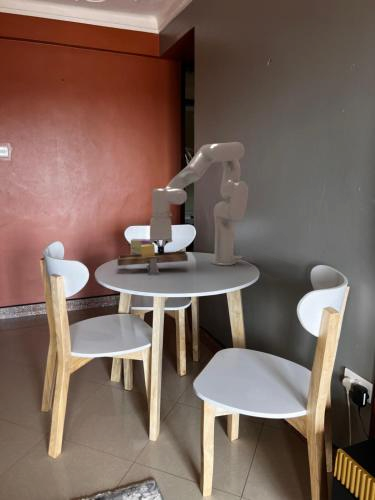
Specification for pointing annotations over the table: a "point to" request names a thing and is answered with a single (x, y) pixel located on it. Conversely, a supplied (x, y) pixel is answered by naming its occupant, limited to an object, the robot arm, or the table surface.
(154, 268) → the stand
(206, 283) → the table surface
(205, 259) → the table surface
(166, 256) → the beam
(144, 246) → the block
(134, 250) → the box
